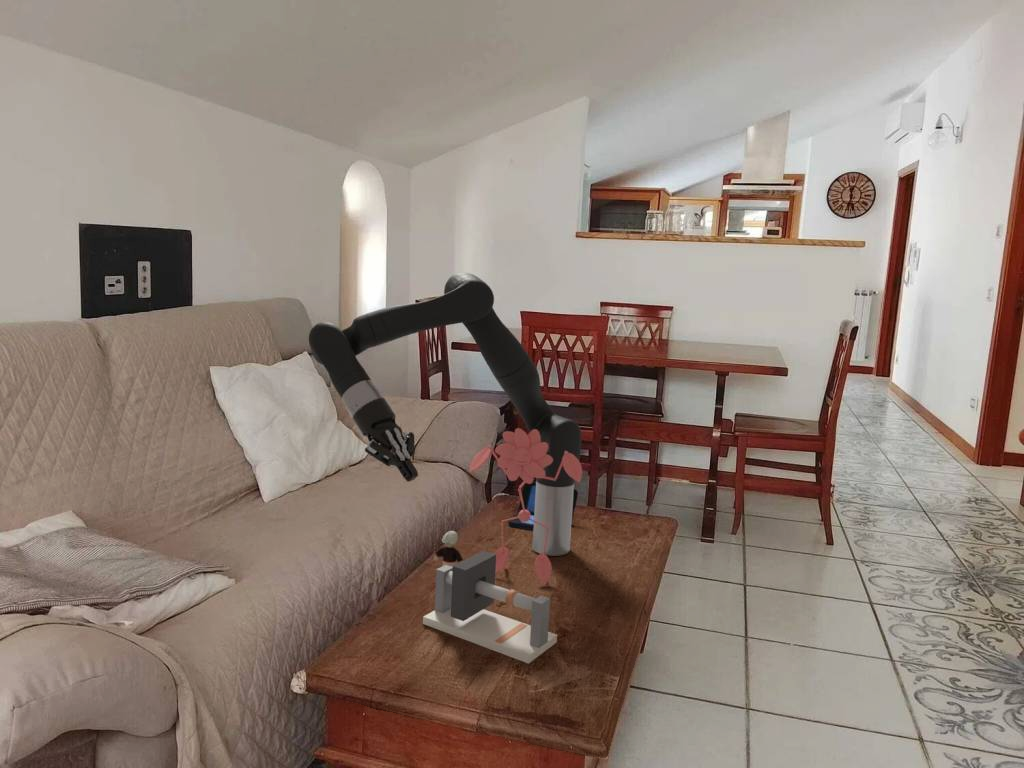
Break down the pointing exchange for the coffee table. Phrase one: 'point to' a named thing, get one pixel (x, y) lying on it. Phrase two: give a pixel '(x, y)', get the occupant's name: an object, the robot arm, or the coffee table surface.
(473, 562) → the grey plate with hole
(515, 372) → the robot arm
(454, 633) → the pipe stand
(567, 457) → the flower
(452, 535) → the grandmother figurine
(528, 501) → the handheld game console
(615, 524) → the coffee table surface
